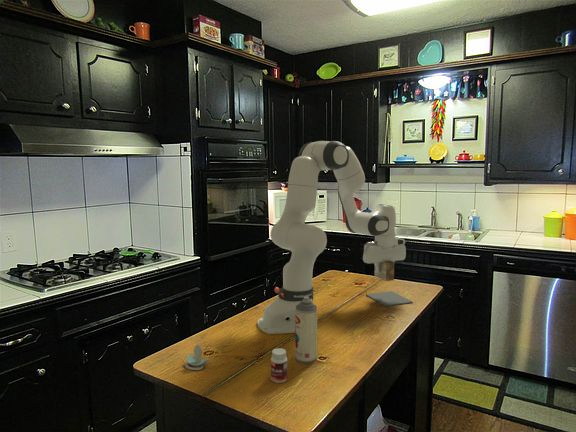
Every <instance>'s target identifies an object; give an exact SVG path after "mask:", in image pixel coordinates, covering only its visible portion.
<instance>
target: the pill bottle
mask: <svg viewBox="0 0 576 432" xmlns="http://www.w3.org/2000/svg"><path fill="white" fill-rule="evenodd" d="M270 380H271V381H272V382H274V383H276V384H282V383H285V382H286V381H287V380H288V357H287V350H286V349H284V348H282V347H281V348H280V347H277V348H274V349H272V350H271V358H270Z"/></svg>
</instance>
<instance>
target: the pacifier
mask: <svg viewBox="0 0 576 432" xmlns="http://www.w3.org/2000/svg"><path fill="white" fill-rule="evenodd" d="M202 353H203V347H202V346H201V345H199V344H197V345H195V346H194V347H193V354H189V355H187V357H186V363H184V367H185V368H186V369H187V370H189V371H200V370H203V369H204V368H205V366H204V365H205V364H206V363H207V362H209V361H210V358H205V359H202Z"/></svg>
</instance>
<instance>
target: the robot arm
mask: <svg viewBox="0 0 576 432" xmlns="http://www.w3.org/2000/svg"><path fill="white" fill-rule="evenodd" d="M289 170H290V171H289V175H288V180H287V181H288V182H287V189H286V190H287V191H286V200H285V205H284V209H283V212H282V213H281V216H280V218H279V219H278V221H277V222H276V223H275V224H273V226H272V228H271V230H270V239H271V241H272V243H274V245H276V246H278V247H279V248H281V249H284V250H286V251H287V250H288V251H291V256H290V259H289V261H288V262H287V263H285V265H284V266H283V269H282V279H283V280H282V283H283V284H282V287H281V288H279V287H278V286H276V287H275V288H274V292H275V293H276V294H277V295H278V297H276V298H275V299H274V300H273V301H272V302H271V303H269V304H268V305H267V306H265V308H264V311H263V314H262V315H263V316H262V317H261V318H259V319H257V321H256V322H257V327H258V328H259V330H260V331H262V333H265V334H266V335H277V334H278V335H279V334H293V333H294V334H295V309H296V306H297V305H298V304H299V303H300V302H301V301H302V300H304V297H305V296H307V297H309V300H310V301H311V302H312V303H313V301H314V286H313V272H314V271H313V269H314V265H315V262H316V260H317V257H318V256H319V255H320V254H322V253H323V252H324V251H325V249H326V247H327V242H328V239H327V234H326V232H325V231H324V230H323V229H322V228H320V227H317V225H314V224H309V223H305V222H306V219H307V217H308V215H309V214H310V213H311V212H313V211H314V210H315V209H316V204H317V196H318V185H319V174H320V172H321V171H333V174H334V177H335V179H336V181H337V194H338V198H339V201H340V205H341V208H342V211H343V214H344V221H345V227H346V229H347V230H348V231H349V232H350V233H351V234H359V235H365V236H370V237H374V241H367V242H366V243H365V244H364V245H363V255H362V261H363V262H364V263H365V264H374V268H375V267H376V272H381V268H380V267H379V266H378V265H379V262H385V261H392V262H394V264H395V263H396V262H397V261H404V260H405V259H406V257H407V248H406V245H405V244H406V240H405V239H403V238H400V237H398V236H396V231H395V228H396V225H397V223H396V222H397V216H396V215H397V214H396V209H395V206H393V205H390V204H382V203H381V204H380V203H379V204H377V205H376V208H375V209H374V210H372V211H370V212H364V211H362V210H360V209H358V206H357V204H356V203H357V202H356V201H355V197H354V194H356V193H357V192H359V191H361V189H362V188H363V186H364V185H365V183H366V177H365V172H364V170H363V167H362V164H361V163H360V161H359V159H358V157H357V155H356V154H355V151H354V150H353V149H352V148H351V147H350V146H347V145H345V144H344V143H342V142H340V141H336V140H332V141H329V140H327V141H326V140H318V141H314V142H313V141H310V142H307V143H305V144H303V146H301V148H300V150H299V153H298V156H297V157H295V158H294V159H293V160H292V163H291V166H290V169H289Z"/></svg>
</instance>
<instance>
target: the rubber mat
mask: <svg viewBox="0 0 576 432" xmlns="http://www.w3.org/2000/svg"><path fill="white" fill-rule="evenodd" d="M365 296H367V297H368V298H370V299H371V300H373V301H375V302H376V303H379V304H380V305H382V306H384V307H385V308H386V307H393V306H400V305H401V306H402V305H406V304H407V305H408V304H413V302H414V301H412V300H411V299H408V298H407V297H404V296H402V295H400V294H399V293H396V292H394V291H393V290H390V291H382V292H374V293H366V295H365Z"/></svg>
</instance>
